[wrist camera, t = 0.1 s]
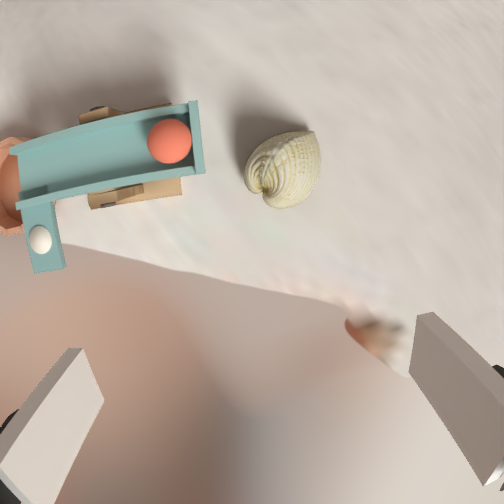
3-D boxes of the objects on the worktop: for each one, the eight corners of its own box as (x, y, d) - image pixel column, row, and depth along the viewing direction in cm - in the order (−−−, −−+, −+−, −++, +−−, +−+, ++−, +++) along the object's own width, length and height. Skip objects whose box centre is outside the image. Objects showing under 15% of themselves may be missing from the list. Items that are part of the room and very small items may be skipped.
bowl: (-6, 152, 34) (-25, 153, 30) (54, 128, 34) (36, 126, 30) (5, 232, 38) (-13, 239, 33) (65, 220, 37) (48, 226, 33)
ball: (144, 126, 27) (145, 118, 23) (186, 120, 28) (193, 112, 25) (148, 167, 28) (150, 165, 24) (190, 161, 29) (198, 158, 26)
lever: (17, 149, 26) (1, 148, 23) (198, 107, 29) (197, 100, 25) (38, 270, 30) (24, 280, 27) (214, 244, 32) (215, 253, 29)
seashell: (218, 180, 34) (247, 118, 29) (261, 164, 41) (289, 113, 35) (274, 228, 33) (313, 168, 28) (309, 203, 39) (344, 153, 34)
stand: (83, 125, 34) (44, 118, 25) (172, 104, 34) (150, 87, 25) (93, 208, 37) (56, 221, 28) (182, 194, 37) (162, 203, 28)
